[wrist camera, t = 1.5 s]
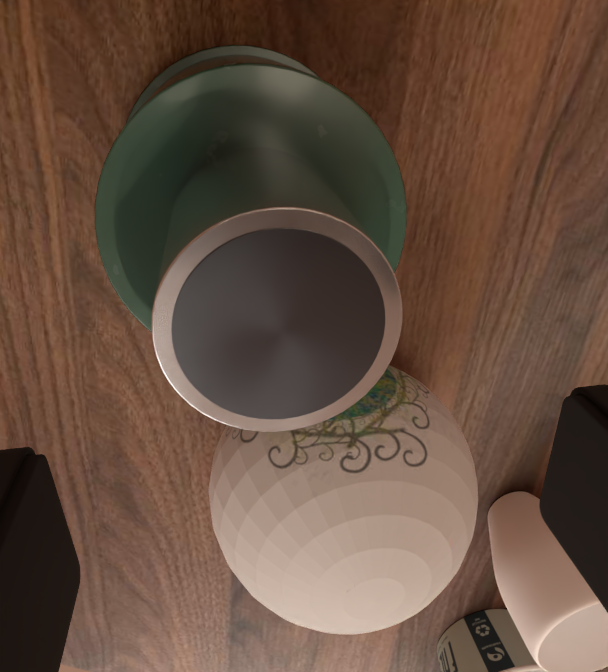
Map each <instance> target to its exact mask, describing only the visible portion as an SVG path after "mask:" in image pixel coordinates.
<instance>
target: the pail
mask: <svg viewBox="0 0 608 672" xmlns="http://www.w3.org/2000/svg"><path fill="white" fill-rule="evenodd" d="M248 147H266V148H272V149H277V150H280V151H284V152H287V153H289V154H292V155H294V156H296V157H298V158H300V159H301V160H303V161H304V162H306V163H308V164H309V165H310V166H311V167H312V168H314V169H315V170H316V171H317V172H318V173H319V174H320V175H321V177H322V178H323V179H324V180H325V181H326V182H327V184H328V185H329V186H330V187H331V189H332V190H333V191H334V192H335V194H336V195H337V196H338V197H339V199H340V200H341V201H342V202H343V204H344V205H345V206H346V207H347V209H348V210H349V211H350V212H351V214H352V215H353V216H354V217H355V219H356V220H357V221H358V222H359V224H360V225H361V226H362V227H363V229H364V230H365V231H366V232H367V234H368V235H369V236H370V237H371V239H372V240H373V241H374V242H375V244H376V245H377V246H378V247H379V249H380V250H381V251H382V253H383V254H384V256H385V257H386V259H387V260H388V262H389V263H390V265H391V267H392V269H393V272H394V273H395V271H396V268H397V266H398V263H399V260H400V257H401V253H402V249H403V245H404V240H405V232H406V225H407V204H406V197H405V189H404V183H403V180H402V176H401V172H400V168H399V165H398V163H397V161H396V158H395V156H394V153H393V151H392V149H391V147H390V145H389V143H388V142H387V140H386V138H385V137H384V135H383V133H382V131H381V130H380V129H379V127H378V126H377V125H376V123H375V122H374V121H373V120H372V118H371V117H370V116H369V115H368V113H367V112H365V111H364V110H363V109H362V108H361V107H360V106H359V105H358V104H357V103H356V102H355V101H354V100H353V99H352V98H350V97H349V96H348V95H346V94H345V93H343V92H342V91H341V90H339V89H338V88H336V87H335V86H333V85H331V84H329V83H328V82H326V81H324V80H322V79H321V78H320V77H319V76H318V75H317V74H316V73H315V72H313V71H312V70H310V69H309V68H308V67H306V66H305V65H303V64H302V63H300V62H298V61H297V60H295V59H293V58H291V57H289V56H287V55H285V54H282V53H279V52H276V51H273V50H270V49H266V48H261V47H256V46H251V45H226V46H216V47H212V48H208V49H204V50H201V51H198V52H195V53H193V54H191V55H188V56H186V57H184V58H182V59H180V60H179V61H177V62H176V63H174V64H172V65H171V66H169V67H168V68H167V69H165V70H164V71H163V72H162V73H161V74H159V75H158V76H157V77H156V78H155V79H154V80H153V81H152V82H151V83H150V84H149V85H148V87H147V88H146V89H145V90H144V91H143V93H142V94H141V96H140V97H139V99H138V100H137V102H136V103H135V105H134V106H133V109H132V111H131V113H130V115H129V117H128V119H127V121H126V124H125V126H124V127H123V129H122V130H121V132H120V133H119V135H118V137H117V138H116V140H115V141H114V143H113V145H112V147H111V149H110V151H109V153H108V156H107V158H106V160H105V162H104V165H103V168H102V172H101V175H100V178H99V182H98V187H97V194H96V201H95V230H96V237H97V244H98V249H99V252H100V256H101V259H102V263H103V266H104V268H105V271H106V273H107V275H108V277H109V280H110V282H111V284H112V286H113V287H114V289H115V291H116V292H117V294H118V296H119V297H120V299H121V301H122V302H123V303H124V304H125V306H126V307H127V308H128V309H129V311H130V312H131V313H132V314H133V316H134V317H135V318H136V319H137V320H138V321H139V322H140V323H141V324H143V325H144V326H145V327H146V328H147V329H148V330H149V331H150V332H151V318H152V309H153V304H154V299H155V294H156V289H157V284H158V279H159V274H160V269H161V264H162V260H163V255H164V250H165V245H166V240H167V235H168V230H169V225H170V220H171V215H172V211H173V207H174V204H175V201H176V199H177V197H178V195H179V193H180V191H181V189H182V187H183V186H184V184H185V183H186V182H187V180H188V179H189V178H190V177H191V176H192V175H193V173H194V172H195V171H196V170H197V169H199V168H200V167H201V166H202V165H204V164H205V163H206V162H208V161H210V160H211V159H213V158H215V157H216V156H218V155H221V154H223V153H226V152H228V151H232V150H236V149H240V148H248Z"/></svg>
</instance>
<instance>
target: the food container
mask: <svg viewBox="0 0 608 672" xmlns="http://www.w3.org/2000/svg"><path fill="white" fill-rule="evenodd" d="M437 654H438V660H439V665H440V670H441V672H547V671H545V670H543V669H542V668H541V667H540V666H539V665H538V664H537V663H536V662H535V660H534V659H533V657H532V656H531V654H530V652H529V650H528V648H527V646H526V645H525V643H524V641H523V639H522V637H521V635H520V633H519V631H518V629H517V627H516V625H515V623H514V621H513V620H512V618H511V616H510V614H509V612H508V610H506V609H490V610H484V611H480V612H476V613H474V614H471V615H469V616H466V617H464V618H462V619H461V620H459V621H457V622H456V623H454V624H453V625H452V626H451V627H449V628H448V629H447V630H446V631H445V632H444V634H443V635H442V636H441V638H440V640H439V642H438V645H437Z"/></svg>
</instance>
